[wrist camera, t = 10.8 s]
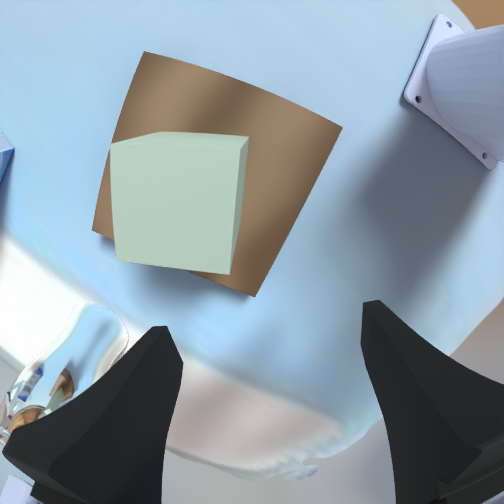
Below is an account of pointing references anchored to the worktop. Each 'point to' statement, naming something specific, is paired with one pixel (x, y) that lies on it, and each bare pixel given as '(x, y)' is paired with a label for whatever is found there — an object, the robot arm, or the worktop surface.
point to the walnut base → (258, 157)
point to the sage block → (178, 199)
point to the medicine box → (4, 153)
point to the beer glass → (64, 366)
